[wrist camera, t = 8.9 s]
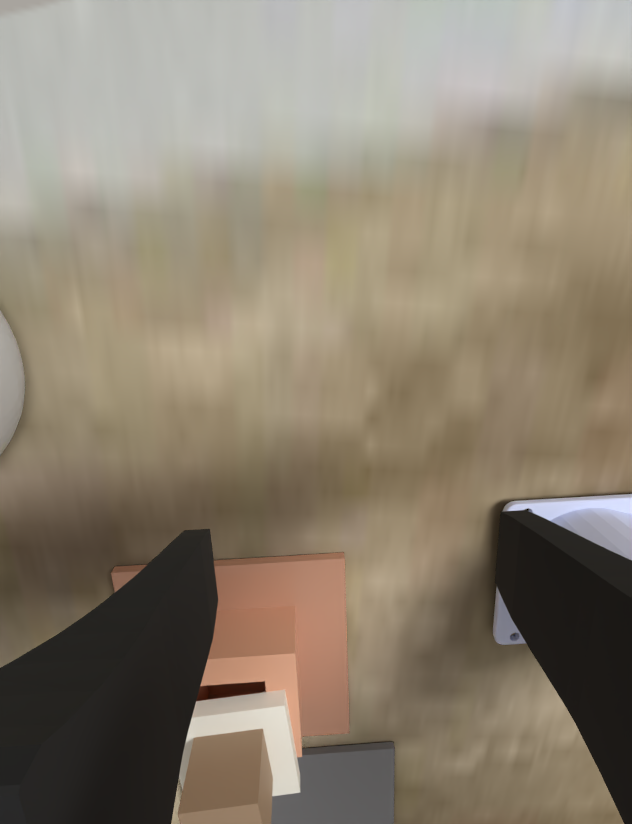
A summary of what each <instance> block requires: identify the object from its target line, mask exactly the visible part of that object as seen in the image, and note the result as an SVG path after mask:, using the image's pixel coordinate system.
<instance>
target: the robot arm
mask: <svg viewBox="0 0 632 824" xmlns="http://www.w3.org/2000/svg"><path fill="white" fill-rule="evenodd" d="M527 508H529V510H528V511H526V510H525V509H527ZM495 583H496V585H497V588H496V600H495V612H494V624H493V637H494V639H495V640H496V642H497V643H498V644H500V645H510V644H524V643H527V645H528V647H529V648H530V650H531V651H532V653H533V655H534V656H535V658H536V659H537V661H538V663H539V664H540V666H541V667H542V669H543V671H544V672H545V674H546V675H547V677H548V679H549V680H550V682H551V683H552V685H553V687H554V688H555V690H556V691H557V693H558V695H559V696H560V698H561V699H562V701H563V703H564V704H565V706H566V708H567V709H568V711H569V713H570V715H571V716H572V718H573V720H574V722H575V723H576V725H577V727H578V729H579V731H580V733H581V735H582V737H583V739H584V741H585V743H586V745H587V747H588V749H589V751H590V753H591V755H592V757H593V759H594V761H595V763H596V765H597V767H598V769H599V771H600V773H601V775H602V777H603V779H604V781H605V783H606V786H607V788H608V790H609V792H610V794H611V796H612V798H613V800H614V802H615V805H616V807H617V809H618V811H619V813H620V815H621V817H622V819H623V822H624V824H632V494H623V495H606V496H589V497H572V498H555V499H539V500H522V501H512V502H509V503H508V504H506V505H505V507H504V509H503V511H501V515H500V527H499V539H498V551H497V564H496V576H495ZM217 606H218V593H217V584H216V576H215V568H214V560H213V552H212V543H211V535H210V529H201V530H185V531H184V532H182V533H181V534H180V535H179V536H178V537H177V538H176V539H175V540H173V541H172V542H171V543H170V544H169V545H168V546H167V547H166V548H165V549H164V550H163V551H162V552H161V553H160V554H159V555H158V556H156V557H155V558H154V559H153V560H152V561H151V562H150V563H149V564H148V565H147V566H146V567H144V568H143V569H142V570H141V571H140V572H139V573H138V574H137V575H136V576H134V577H133V578H132V579H131V580H130V581H128V582H127V583H126V584H125V585H124V586H122V587H121V588H120V589H119V590H117V591H116V592H115V593H114V594H113V595H111V596H110V597H109V598H108V599H107V600H105V601H104V602H103V603H102V604H100V605H99V606H98V607H96V608H95V609H94V610H92V611H91V612H90V613H88V614H87V615H85V616H84V617H83V618H81V619H80V620H78V621H77V622H75V623H74V624H72V625H71V626H69V627H68V628H67V629H65V630H64V631H62V632H61V633H59V634H57V635H56V636H54V637H53V638H51V639H49V640H48V641H46V642H44V643H43V644H41V645H39V646H38V647H36V648H34V649H32V650H31V651H29V652H27V653H26V654H24V655H22V656H21V657H19V658H17V659H16V660H14V661H12V662H10V663H9V664H7V665H5V666H3V667H1V668H0V824H171V820H172V814H173V808H174V802H175V796H176V790H177V785H178V779H179V773H180V767H181V762H182V756H183V751H184V747H185V742H186V738H187V734H188V730H189V726H190V722H191V719H192V715H193V711H194V708H195V704H196V700H197V697H198V693H199V689H200V685H201V682H202V678H203V674H204V671H205V667H206V663H207V659H208V656H209V652H210V648H211V644H212V640H213V635H214V628H215V621H216V614H217ZM513 633H515V634H514V635H511V634H513Z"/></svg>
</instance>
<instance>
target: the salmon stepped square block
mask: <svg viewBox="0 0 632 824" xmlns="http://www.w3.org/2000/svg"><path fill="white" fill-rule="evenodd" d="M146 566H147V565H132V566H116V567H114V569H113V571H112V572H111V575H112V581H113V586H114V591H115V592H116V591H117V590H119V589H120V588H121V587H122V586H124V585H125V584H126V583H127V582H128V581H130V580H131V579H132V578H133V577H134V576H136V575H137V574H138V573H139V572H140V571H141V570H142V569H143V568H144V567H146ZM214 568H215V576H216V584H217V593H218V606H217V614H216V621H215V628H214V635H213V640H212V644H211V648H210V652H209V656H208V659H207V663H206V667H205V671H204V674H203V678H202V682H201V685H200V689H199V693H198V697H197V700H196V701H202V700H210V699H217V698H225V697H233V696H240V695H248V694H255V693H263V692H271V691H278V690H285V692H286V698H287V704H288V709H289V715H290V720H291V726H292V732H293V737H294V743H295V749H296V754H297V757H302V737H304V736H317V735H331V734H345V733H349V696H348V660H347V623H346V587H345V557H344V552H342V553H326V554H310V555H293V556H277V557H261V558H245V559H229V560H214Z"/></svg>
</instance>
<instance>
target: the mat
mask: <svg viewBox="0 0 632 824" xmlns="http://www.w3.org/2000/svg"><path fill="white" fill-rule="evenodd" d="M394 756H395V748H394V743H393V742H382V743H368V744H355V745H341V746H328V747H315V748H302V757H297V760H298V765H299V771H300V793H294V794H286V795H279V796H272V816H271V824H394Z"/></svg>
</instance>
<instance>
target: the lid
mask: <svg viewBox="0 0 632 824" xmlns="http://www.w3.org/2000/svg"><path fill="white" fill-rule="evenodd" d="M179 780H180V783H181V787H182V796H181V800H180V805H179V810H178V818H179V821H180V824H271V816H272V796H279V795H286V794H294V793H300V771H299V765H298V760H297V754H296V749H295V743H294V737H293V732H292V726H291V720H290V715H289V709H288V704H287V698H286V692H285V690H278V691H271V692H263V693H255V694H248V695H240V696H233V697H225V698H217V699H210V700H202V701H196V704H195V708H194V711H193V715H192V719H191V722H190V726H189V730H188V734H187V738H186V742H185V747H184V751H183V756H182V762H181V767H180V773H179Z"/></svg>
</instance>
